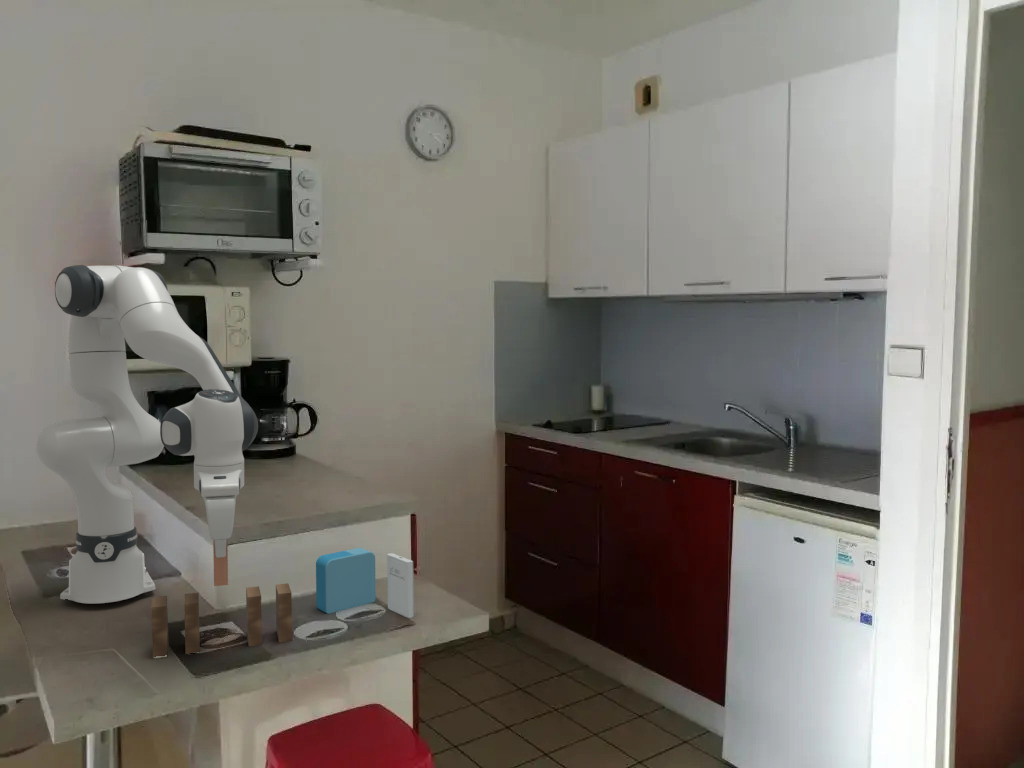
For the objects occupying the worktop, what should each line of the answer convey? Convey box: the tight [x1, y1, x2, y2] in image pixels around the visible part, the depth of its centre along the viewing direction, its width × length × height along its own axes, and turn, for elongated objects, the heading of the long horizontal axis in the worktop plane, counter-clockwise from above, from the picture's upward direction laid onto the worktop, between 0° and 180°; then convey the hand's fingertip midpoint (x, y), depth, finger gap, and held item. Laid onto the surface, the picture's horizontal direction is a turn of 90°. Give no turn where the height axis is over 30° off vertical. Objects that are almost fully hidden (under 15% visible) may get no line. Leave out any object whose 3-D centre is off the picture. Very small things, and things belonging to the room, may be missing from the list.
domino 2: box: [183, 592, 201, 654], centre depth 155 cm, size 2×6×10 cm, turn 21°
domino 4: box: [245, 585, 263, 647], centre depth 159 cm, size 2×6×10 cm, turn 20°
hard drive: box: [386, 552, 415, 619], centre depth 173 cm, size 2×8×12 cm, turn 41°
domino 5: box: [275, 583, 293, 643], centre depth 161 cm, size 2×6×10 cm, turn 21°
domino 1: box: [150, 595, 169, 658], centre depth 153 cm, size 2×6×10 cm, turn 20°
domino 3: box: [212, 540, 229, 587], centre depth 156 cm, size 2×6×10 cm, turn 20°
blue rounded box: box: [315, 547, 377, 615], centre depth 178 cm, size 12×4×12 cm, turn 131°
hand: (220, 550), depth 156 cm, fingers closed on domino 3, 6 cm apart
